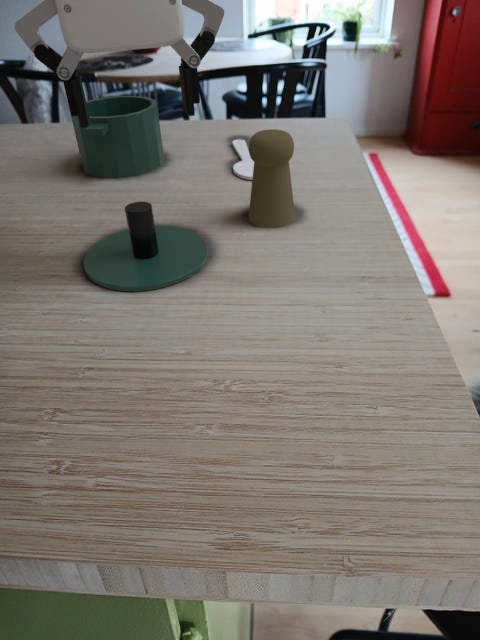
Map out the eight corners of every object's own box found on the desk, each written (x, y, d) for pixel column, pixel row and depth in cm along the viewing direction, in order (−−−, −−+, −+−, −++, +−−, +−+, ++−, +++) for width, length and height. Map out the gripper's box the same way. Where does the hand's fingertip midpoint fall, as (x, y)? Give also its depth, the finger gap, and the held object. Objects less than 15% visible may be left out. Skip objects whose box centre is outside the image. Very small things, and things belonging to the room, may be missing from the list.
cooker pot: (65, 190, 76) (48, 124, 70) (106, 149, 90) (95, 92, 84) (147, 191, 74) (136, 123, 68) (176, 149, 88) (169, 90, 83)
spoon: (253, 140, 90) (253, 137, 90) (273, 177, 76) (273, 174, 75) (222, 143, 89) (222, 140, 89) (237, 181, 75) (236, 177, 75)
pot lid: (66, 293, 53) (48, 235, 49) (109, 233, 64) (98, 181, 60) (194, 299, 51) (188, 238, 47) (217, 235, 62) (213, 182, 58)
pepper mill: (260, 236, 61) (258, 143, 55) (240, 217, 66) (236, 129, 59) (304, 225, 63) (308, 134, 56) (282, 207, 68) (282, 121, 61)
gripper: (207, -122, 42) (221, 99, 52) (-15, -114, 39) (45, 117, 50) (224, -134, 36) (236, 118, 46) (-35, -125, 33) (38, 140, 44)
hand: (138, 117), depth 48 cm, fingers open, 9 cm apart
